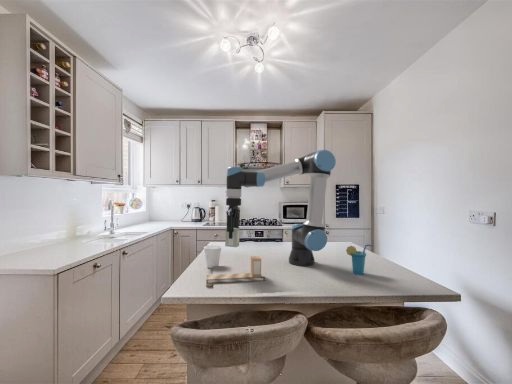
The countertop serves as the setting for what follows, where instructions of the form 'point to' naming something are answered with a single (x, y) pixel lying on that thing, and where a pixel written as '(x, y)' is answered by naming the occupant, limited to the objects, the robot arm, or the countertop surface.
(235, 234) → the carton
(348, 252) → the cup
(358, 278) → the countertop surface
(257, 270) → the faced carton
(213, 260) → the cup
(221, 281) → the wavy tan tray
